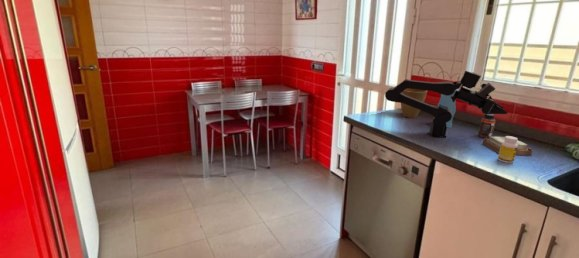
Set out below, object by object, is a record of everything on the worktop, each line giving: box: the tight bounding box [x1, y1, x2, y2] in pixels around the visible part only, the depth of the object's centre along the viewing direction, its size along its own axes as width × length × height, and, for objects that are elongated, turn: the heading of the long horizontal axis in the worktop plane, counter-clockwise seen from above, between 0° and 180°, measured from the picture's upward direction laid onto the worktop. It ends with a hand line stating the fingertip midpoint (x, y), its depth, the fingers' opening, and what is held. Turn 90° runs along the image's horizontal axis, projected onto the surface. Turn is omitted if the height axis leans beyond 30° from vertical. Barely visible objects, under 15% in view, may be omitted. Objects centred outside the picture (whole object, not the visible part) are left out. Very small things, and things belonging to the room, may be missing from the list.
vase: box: [436, 89, 459, 129], centre depth 169 cm, size 8×8×20 cm
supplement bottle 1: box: [477, 114, 496, 139], centre depth 154 cm, size 6×6×11 cm
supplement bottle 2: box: [497, 135, 518, 164], centre depth 125 cm, size 5×5×10 cm
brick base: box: [482, 136, 533, 156], centre depth 139 cm, size 13×13×4 cm
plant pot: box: [400, 88, 428, 119], centre depth 186 cm, size 15×15×16 cm
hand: (505, 110), depth 140 cm, fingers open, 9 cm apart
